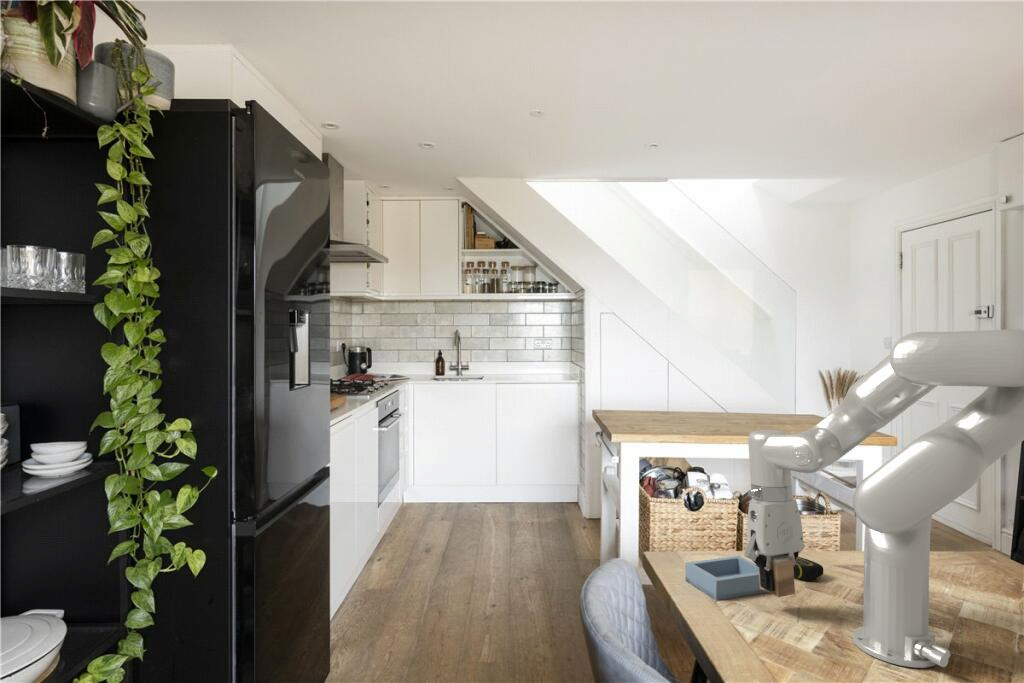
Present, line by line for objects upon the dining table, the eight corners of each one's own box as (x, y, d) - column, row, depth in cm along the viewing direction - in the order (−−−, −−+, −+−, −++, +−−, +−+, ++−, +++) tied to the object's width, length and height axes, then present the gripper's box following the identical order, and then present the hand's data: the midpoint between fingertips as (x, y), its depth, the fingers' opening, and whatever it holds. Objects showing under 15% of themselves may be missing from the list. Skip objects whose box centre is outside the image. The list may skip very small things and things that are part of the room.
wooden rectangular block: (795, 593, 114) (792, 557, 114) (778, 597, 113) (776, 560, 113) (775, 585, 119) (773, 550, 119) (759, 588, 118) (757, 552, 118)
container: (772, 591, 126) (772, 572, 126) (716, 600, 121) (716, 580, 121) (738, 573, 136) (738, 555, 136) (685, 580, 131) (685, 562, 131)
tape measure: (825, 580, 133) (825, 563, 133) (805, 585, 130) (805, 568, 130) (798, 569, 139) (798, 553, 139) (778, 574, 136) (778, 558, 136)
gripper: (750, 501, 110) (756, 601, 110) (819, 492, 116) (825, 586, 115) (724, 494, 117) (729, 587, 117) (790, 485, 123) (795, 574, 122)
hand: (777, 586), depth 116 cm, fingers closed on wooden rectangular block, 4 cm apart
